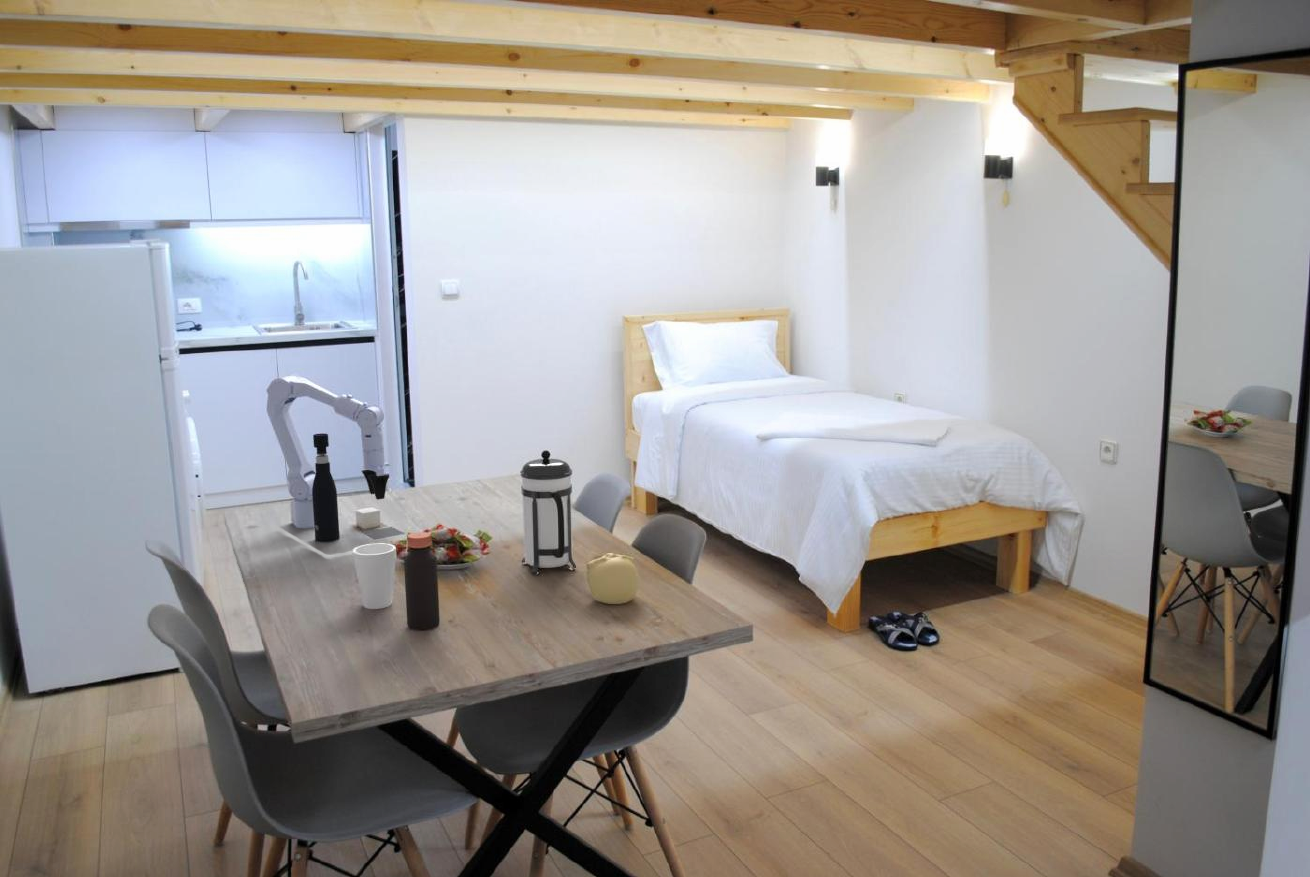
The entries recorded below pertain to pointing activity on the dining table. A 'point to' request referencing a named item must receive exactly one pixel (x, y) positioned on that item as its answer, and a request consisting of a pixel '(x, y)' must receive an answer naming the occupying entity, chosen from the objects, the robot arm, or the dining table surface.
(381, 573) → the foam cup
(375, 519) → the white block
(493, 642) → the dining table surface
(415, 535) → the dark brown water bottle
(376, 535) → the mat
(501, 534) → the dining table surface
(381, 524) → the pin stand
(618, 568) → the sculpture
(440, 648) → the dining table surface
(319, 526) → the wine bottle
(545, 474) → the coffee press
